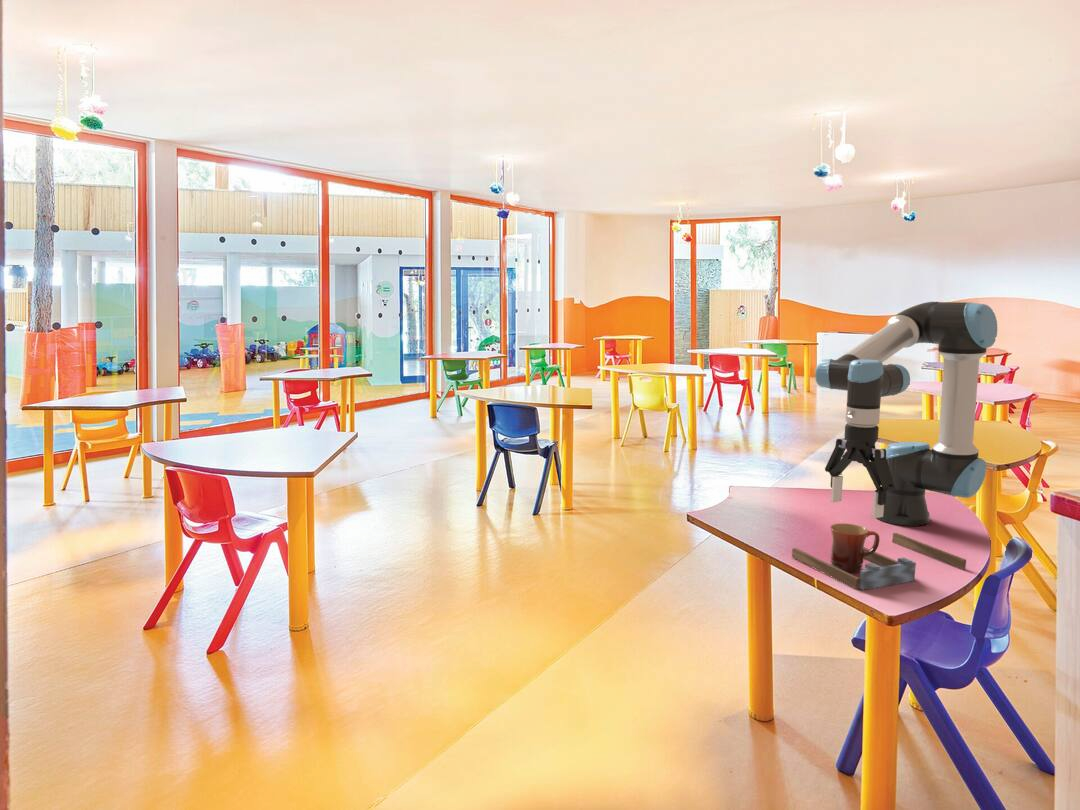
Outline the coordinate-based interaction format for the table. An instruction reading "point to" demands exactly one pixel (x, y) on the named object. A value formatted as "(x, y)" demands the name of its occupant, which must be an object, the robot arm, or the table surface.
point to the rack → (890, 568)
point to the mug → (850, 546)
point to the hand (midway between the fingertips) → (856, 509)
